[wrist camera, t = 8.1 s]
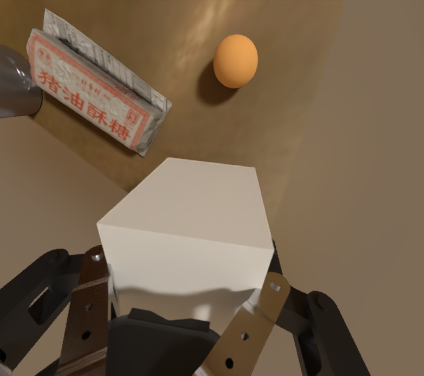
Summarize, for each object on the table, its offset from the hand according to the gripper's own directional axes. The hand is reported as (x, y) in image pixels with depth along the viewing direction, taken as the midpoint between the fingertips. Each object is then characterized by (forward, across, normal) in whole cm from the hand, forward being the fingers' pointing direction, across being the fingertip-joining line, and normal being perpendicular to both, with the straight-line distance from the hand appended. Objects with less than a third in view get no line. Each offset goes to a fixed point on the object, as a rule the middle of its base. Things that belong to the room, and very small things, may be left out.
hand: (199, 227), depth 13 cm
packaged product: (+18, +18, -7) cm, 26 cm away
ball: (+15, -1, -12) cm, 19 cm away
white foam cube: (+4, 0, 0) cm, 4 cm away
